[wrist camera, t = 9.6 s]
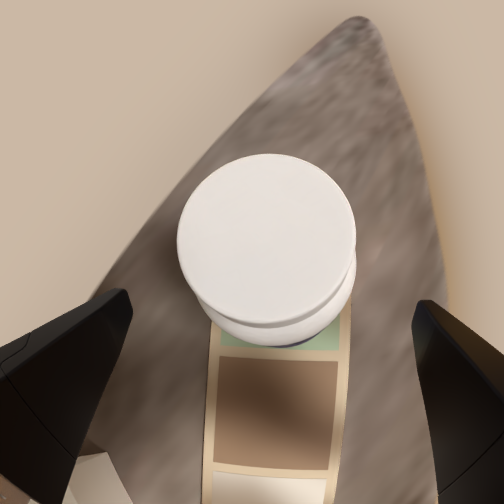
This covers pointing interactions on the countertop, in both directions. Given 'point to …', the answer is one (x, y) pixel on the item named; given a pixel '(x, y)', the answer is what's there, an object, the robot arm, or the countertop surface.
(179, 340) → the countertop surface
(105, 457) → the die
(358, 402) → the countertop surface
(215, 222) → the pill bottle
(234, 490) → the game board
